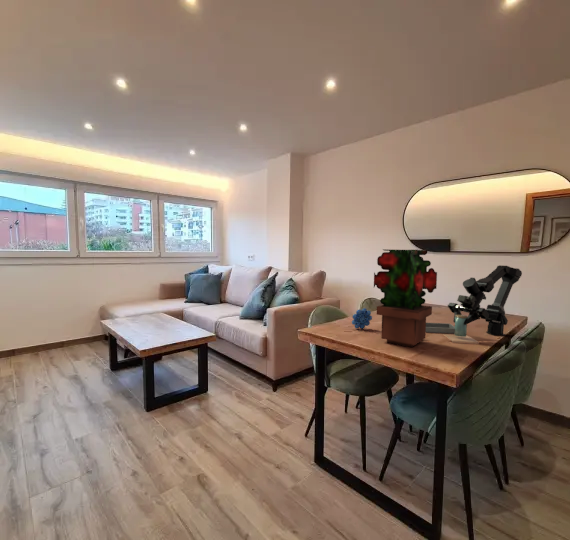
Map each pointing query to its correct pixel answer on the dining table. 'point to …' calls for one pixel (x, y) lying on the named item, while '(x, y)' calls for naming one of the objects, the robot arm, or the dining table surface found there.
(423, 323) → the potted plant
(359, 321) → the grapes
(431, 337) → the dining table surface
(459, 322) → the jar
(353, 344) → the dining table surface
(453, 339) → the tile
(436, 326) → the grey tray
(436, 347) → the dining table surface
